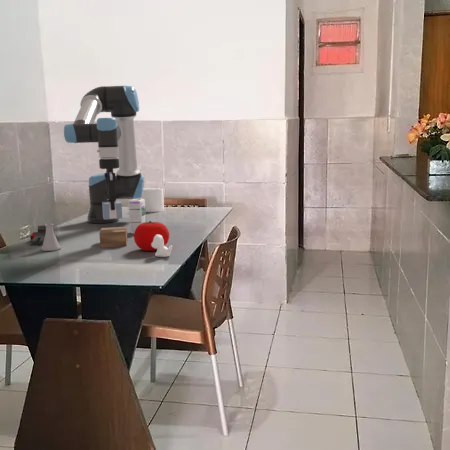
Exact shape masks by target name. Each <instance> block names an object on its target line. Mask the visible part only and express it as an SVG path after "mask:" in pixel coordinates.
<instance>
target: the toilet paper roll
mask: <svg viewBox="0 0 450 450" xmlns="http://www.w3.org/2000/svg"><path fill="white" fill-rule="evenodd" d="M164 198H165V197H164V188H163V187H155V186H154V187H144V188H143V195H142V197H141V199H145V210H146V213H158V212H164V211H165V204H164V203H165V199H164Z"/></svg>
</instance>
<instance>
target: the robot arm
mask: <svg viewBox="0 0 450 450" xmlns="http://www.w3.org/2000/svg"><path fill="white" fill-rule="evenodd" d="M139 102H140V101H139V97H138V93H137V90H136V88H135V86H132V85H111V86H110V85H109V86H105V85H104V86H98V87H95V88H93V89H90V90H89V91H88V92H86V93H85V94H84V96H82V98H81V101H80V106H79V107H80V108H79V111H78V113H77V114H76V117H75V119H74V121H73V123H67V124H65V125H64V127H63V137H64V140H65V142H66V143H68V144H69V143H70V144H83V143H84V144H86V143H88V144H89V143H97V146H98V149H97V150H96V152H97V153H98V157H99V158H100V159H99V160H98V163H99V164H98V165H99V169H101V170H106V172H105V173H98V174H94V175H90V176H89V178H88V191H89V192H88V193H89V195H88V196H89V211H88V214H87V223H89V224H108V223H109V224H110V223H115V222H118V221H119V220H120V219H111V218H117V213H116V201H117V200H133V199H142V195H143V188H145V187H144V186H145V175H144V174H142V173H141V170H140V169H139V167H138V164H137V163H138V162H137V147H136V136H135V124H134V123H135V122H134V119H135V118H136V116H137V113H138V112H139V111H140V103H139ZM100 113H110V115H111V117H99V118H97V116H98V115H99V114H100ZM96 119H97V120H96ZM95 121H96V123H95ZM114 169H115V170H116V169H117V171H116V172H114ZM102 202H109V217H110V219H105V220H104V218H103V208H102Z"/></svg>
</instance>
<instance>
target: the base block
mask: <svg viewBox="0 0 450 450" xmlns="http://www.w3.org/2000/svg"><path fill="white" fill-rule="evenodd" d="M127 229H128V228H127V226H118V227H117V226H116V227H115V226H114V227H101V228H100V230H99V245H100V246H99V247H100V248H110V247H111V248H113V247H115V248H117V247H127V245H128V230H127Z"/></svg>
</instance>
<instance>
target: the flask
mask: <svg viewBox="0 0 450 450" xmlns="http://www.w3.org/2000/svg"><path fill="white" fill-rule="evenodd" d="M45 226H46V235H45V239H44V242H43V245H41V246H42V247H41V251H43V252H47V251H48V252H51V251H59V250H60V249H62V248H61V246H60V243H59V241H58V238H57V237H56V234H54V232H55V230H54V231H53V226H54V223H45Z"/></svg>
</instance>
